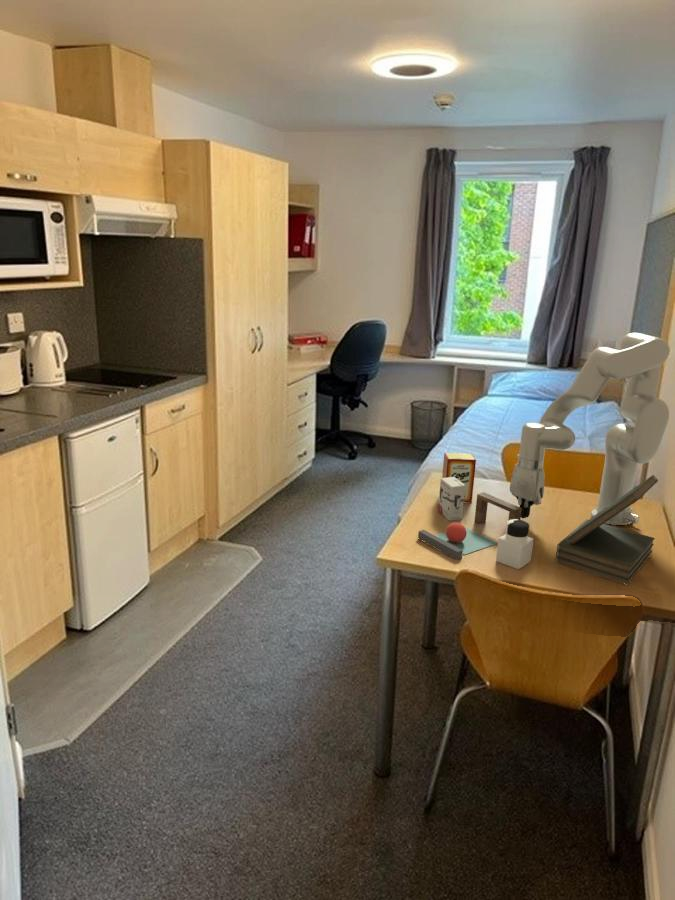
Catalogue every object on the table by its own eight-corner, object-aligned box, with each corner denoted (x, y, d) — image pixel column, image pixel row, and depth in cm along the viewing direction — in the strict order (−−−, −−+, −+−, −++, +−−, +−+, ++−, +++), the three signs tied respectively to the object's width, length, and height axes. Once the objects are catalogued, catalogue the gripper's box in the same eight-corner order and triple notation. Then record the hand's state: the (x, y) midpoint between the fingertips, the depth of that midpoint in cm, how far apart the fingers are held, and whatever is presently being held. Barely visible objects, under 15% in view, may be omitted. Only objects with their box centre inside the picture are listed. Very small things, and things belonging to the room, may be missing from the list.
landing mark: (497, 543, 191) (497, 543, 191) (464, 555, 184) (464, 554, 183) (463, 526, 202) (463, 526, 202) (430, 537, 194) (430, 536, 194)
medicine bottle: (531, 561, 181) (536, 522, 177) (518, 570, 176) (523, 529, 172) (508, 553, 186) (512, 514, 182) (495, 561, 181) (499, 521, 177)
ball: (453, 546, 187) (468, 545, 191) (458, 527, 186) (472, 526, 189) (439, 538, 192) (453, 537, 195) (444, 519, 191) (458, 519, 194)
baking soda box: (467, 495, 228) (471, 452, 223) (471, 503, 222) (476, 458, 217) (440, 495, 227) (444, 452, 223) (444, 502, 221) (448, 457, 216)
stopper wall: (461, 558, 182) (462, 550, 181) (456, 560, 181) (457, 551, 180) (423, 537, 194) (423, 529, 193) (418, 538, 193) (418, 531, 192)
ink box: (436, 510, 214) (439, 477, 210) (450, 509, 215) (453, 476, 212) (448, 521, 206) (452, 486, 203) (462, 519, 208) (466, 485, 204)
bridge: (480, 520, 207) (483, 492, 204) (518, 537, 196) (521, 508, 193) (474, 522, 206) (477, 494, 203) (511, 540, 194) (515, 510, 191)
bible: (583, 537, 198) (595, 460, 191) (651, 557, 187) (667, 476, 179) (554, 563, 181) (566, 479, 174) (627, 587, 170) (643, 498, 162)
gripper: (503, 458, 206) (497, 511, 211) (542, 471, 194) (535, 527, 200) (519, 454, 210) (513, 506, 215) (558, 467, 198) (550, 522, 204)
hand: (523, 516), depth 207 cm, fingers closed
